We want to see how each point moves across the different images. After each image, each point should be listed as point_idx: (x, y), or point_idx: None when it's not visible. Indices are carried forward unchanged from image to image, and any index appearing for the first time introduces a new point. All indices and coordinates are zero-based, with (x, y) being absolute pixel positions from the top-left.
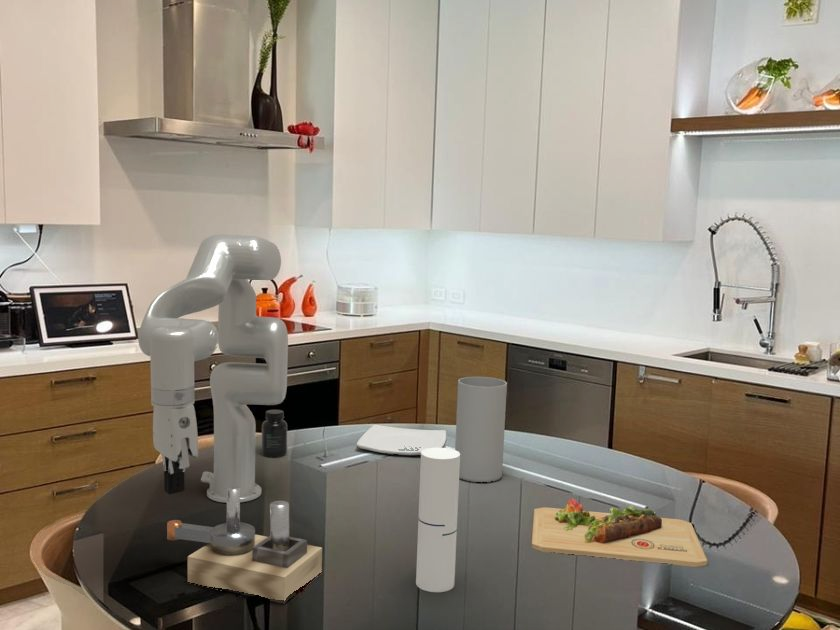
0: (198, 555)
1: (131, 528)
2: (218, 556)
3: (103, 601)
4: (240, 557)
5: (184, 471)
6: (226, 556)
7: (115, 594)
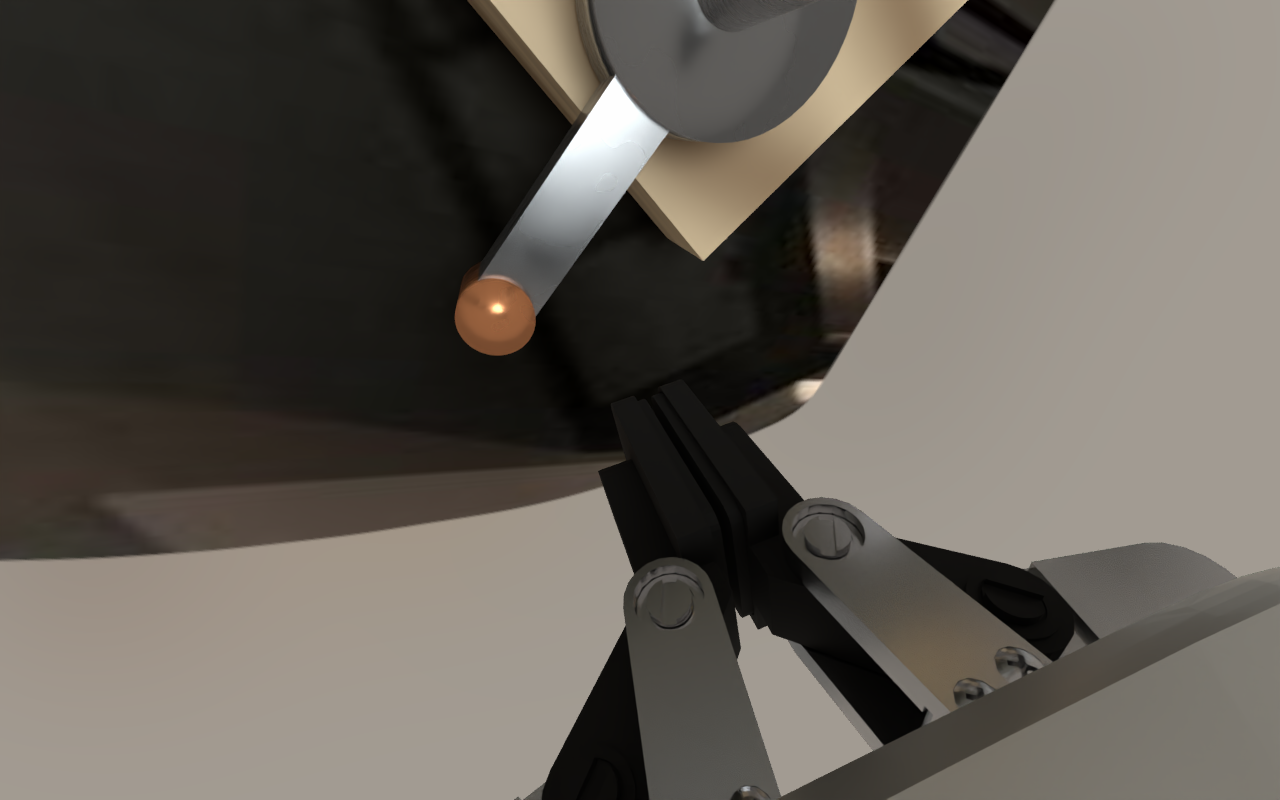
0: (712, 214)
1: (11, 401)
2: None
3: None
4: None
5: (824, 498)
6: None
7: None
